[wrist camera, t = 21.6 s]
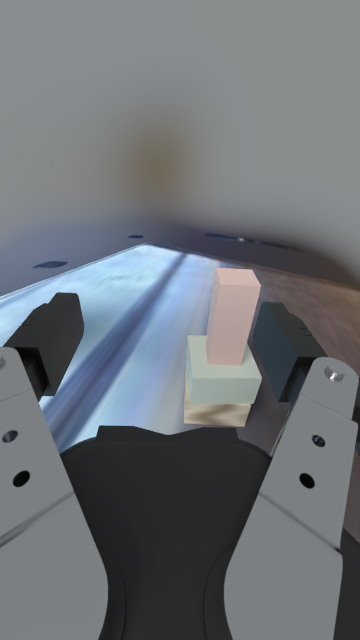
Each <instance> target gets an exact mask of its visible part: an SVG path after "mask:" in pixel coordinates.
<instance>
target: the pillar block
mask: <svg viewBox="0 0 360 640" xmlns="http://www.w3.org/2000/svg"><path fill="white" fill-rule="evenodd" d="M260 288H261V285H260V283H259V282H258V280H257V278H256V276H255V275H254V273H253V271H252V270H245V269H225V268H216V269H215V277H214V284H213V291H212V299H211V306H210V313H209V320H208V328H207V335H206V342H205V344H206V353H207V361H208V364H210V365H235V366H241V363H242V360H243V356H244V352H245V348H246V344H247V340H248V336H249V332H250V328H251V324H252V320H253V316H254V312H255V308H256V304H257V300H258V296H259V292H260Z"/></svg>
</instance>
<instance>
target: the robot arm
mask: <svg viewBox="0 0 360 640" xmlns="http://www.w3.org/2000/svg"><path fill="white" fill-rule="evenodd" d="M83 332H84V322H83V317H82V312H81V307H80V301H79V297H78V295H77V294H76V293H60V292H58V293H56V294H55V296H54V297H53V298H52V299H51V301H50V302H49V303H48V304H46V303H44V304H42V305H41V306H39V307H37V308H36V309H34V310H33V311H32V312H31V313H30V315H29V316H28V317H27V319H25V321H24V322H23V323H22V326H20V327H19V328H18V329H17V330H16V331H15V332H14V334H13V335H12V336H11V337H10V338H9V340H8V341H7V342H6V343H5V344H4V345H3V347H0V640H360V544H359V543H358V542H357V541H356V540H355V539H354V538H353V537H352V536H351V535H350V534H349V533H348V532H347V531H346V530H345V529H344V528H343V520H344V514H345V507H346V501H347V495H348V488H349V482H350V476H351V469H352V463H353V457H354V450H355V448H356V450H357V452H358V454H359V456H360V378H358V376H357V374H356V372H355V371H354V370H353V369H352V368H351V367H349V366H348V365H347V364H345V363H343V362H341V361H339V360H336V359H333V358H329V357H328V356H327V354H326V353H325V352H324V350H323V349H322V347H321V346H320V345H319V343H318V342H317V341H316V339H315V338H314V337H312V334H311V332H310V331H309V330H308V328H307V327H306V325H305V324H304V322H303V321H302V320H301V319H299V318H298V317H296V316H295V315H294V314H289V312H288V311H287V309H286V308H285V306H284V305H283V303H281V302H263V303H262V305H261V307H260V311H259V315H258V318H257V322H256V325H255V329H254V343H255V346H256V348H257V351H258V353H259V356H260V358H261V361H262V363H263V366H264V368H265V371H266V373H267V376H268V378H269V381H270V383H271V386H272V388H273V391H274V393H275V396H276V398H277V401H278V402H290V404H291V409H290V411H289V413H288V415H287V417H286V420H285V422H284V424H283V426H282V429H281V431H280V433H279V436H278V438H277V440H276V442H275V445H274V447H273V449H272V451H271V453H270V455H269V454H267V453H266V452H265V451H263V450H261V449H260V448H258V447H257V446H255V445H253V444H251V443H248V442H246V441H243V440H240V439H238V436H237V431H236V428H214V427H202V428H198V429H194V430H189V431H185V432H181V433H177V434H172V435H165V434H161V433H157V432H153V431H150V430H146V429H142V428H139V427H135V426H99V428H98V432H97V436H96V437H93V438H90V439H87V440H84V441H81V442H79V443H77V444H75V445H73V446H71V447H70V448H68V449H66V450H65V451H63V452H62V453H61V454H59V453H58V450H57V448H56V445H55V443H54V440H53V438H52V435H51V433H50V430H49V428H48V425H47V423H46V420H45V418H44V415H43V413H42V410H41V408H40V405H39V401H40V399H41V397H42V396H55V394H56V392H57V390H58V387H59V385H60V383H61V381H62V379H63V377H64V375H65V373H66V371H67V368H68V366H69V364H70V362H71V360H72V358H73V356H74V354H75V352H76V349H77V347H78V345H79V343H80V341H81V339H82V337H83Z"/></svg>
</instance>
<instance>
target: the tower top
mask: <svg viewBox="0 0 360 640" xmlns="http://www.w3.org/2000/svg"><path fill="white" fill-rule="evenodd" d="M205 342H206V335H188V338H187V349H186V369H187V380H188V390H189V400H190V404H254V402H255V399H256V396H257V393H258V390H259V387H260V384H261V381H262V377H261V375H260V372H259V370H258V367H257V365H256V363H255V360H254V358H253V356H252V353H251V351H250V348H249V346H248V344H246V348H245V352H244V356H243V360H242V363H241V366H235V365H210V364H208V361H207V353H206V344H205Z"/></svg>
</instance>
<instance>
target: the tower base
mask: <svg viewBox="0 0 360 640" xmlns="http://www.w3.org/2000/svg"><path fill="white" fill-rule="evenodd" d="M250 408H251V404H190V400H189V390H188V380H187V369H185V389H184V423H190V424H207V425H223V426H240V427H244V426H245V423H246V420H247V417H248V414H249V411H250Z"/></svg>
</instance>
